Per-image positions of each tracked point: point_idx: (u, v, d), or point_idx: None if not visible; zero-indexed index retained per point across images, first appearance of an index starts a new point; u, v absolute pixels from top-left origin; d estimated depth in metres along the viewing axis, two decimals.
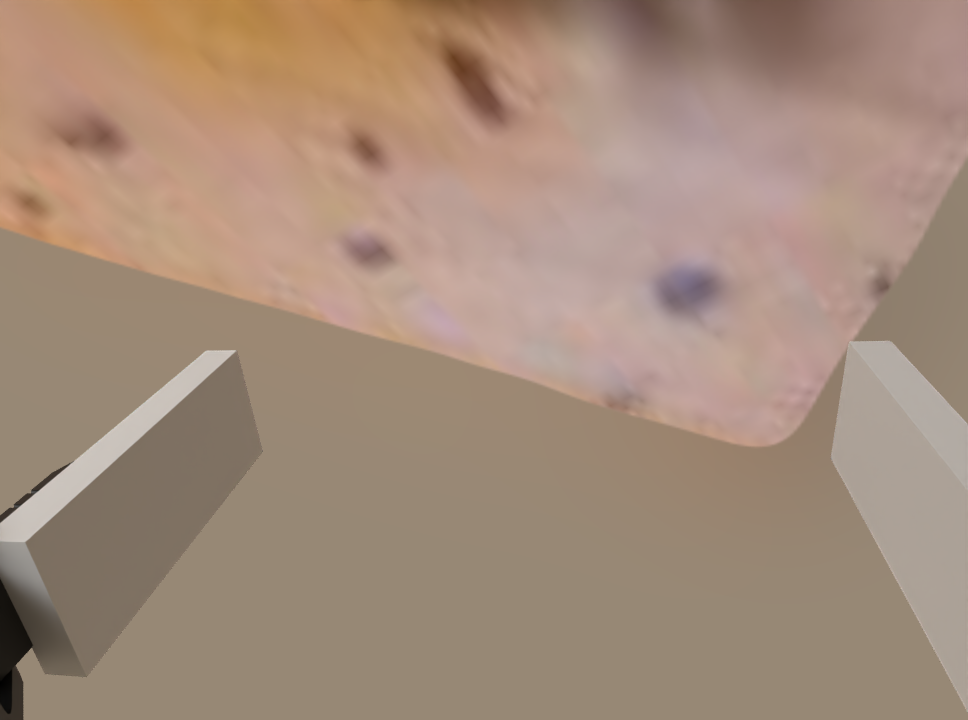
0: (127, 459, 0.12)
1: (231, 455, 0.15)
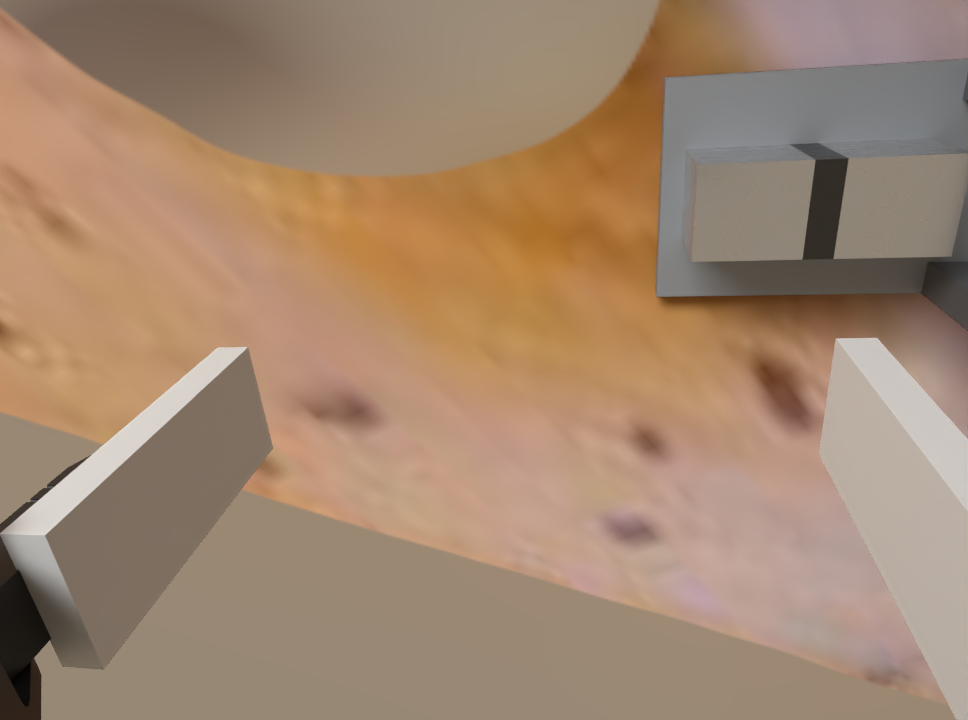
0: (142, 454, 0.12)
1: (242, 451, 0.15)
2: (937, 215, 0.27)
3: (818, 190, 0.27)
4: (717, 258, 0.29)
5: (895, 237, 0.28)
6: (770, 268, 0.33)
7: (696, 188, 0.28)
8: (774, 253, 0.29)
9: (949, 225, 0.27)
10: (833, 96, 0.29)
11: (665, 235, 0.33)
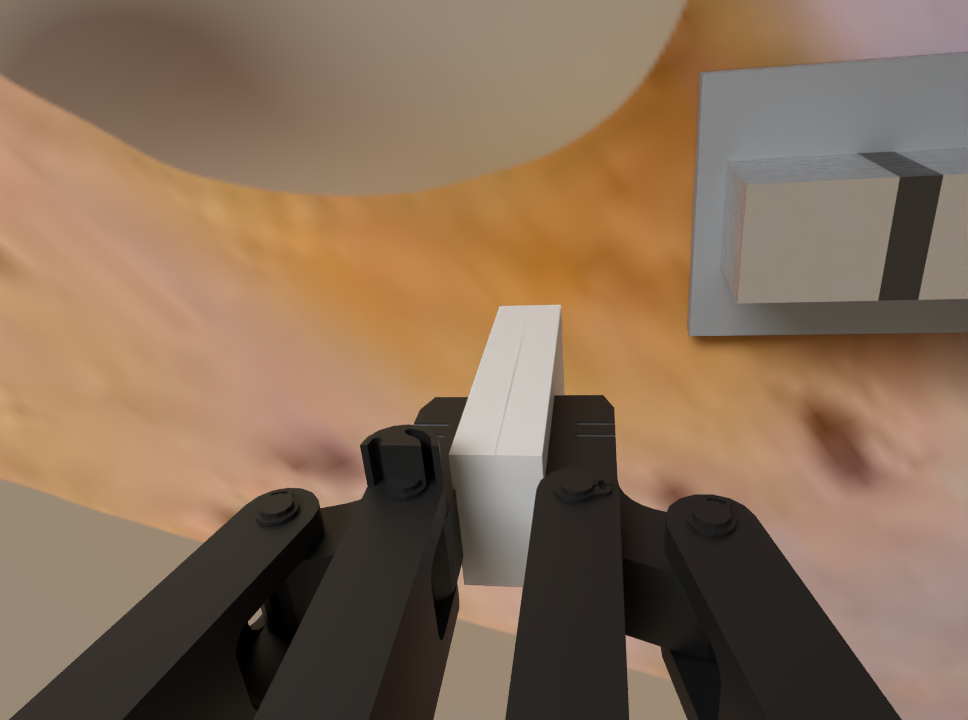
0: None
1: None
2: None
3: (902, 215, 0.21)
4: (770, 299, 0.23)
5: None
6: (828, 302, 0.27)
7: (744, 214, 0.22)
8: (842, 293, 0.23)
9: None
10: (914, 93, 0.23)
11: (700, 265, 0.27)
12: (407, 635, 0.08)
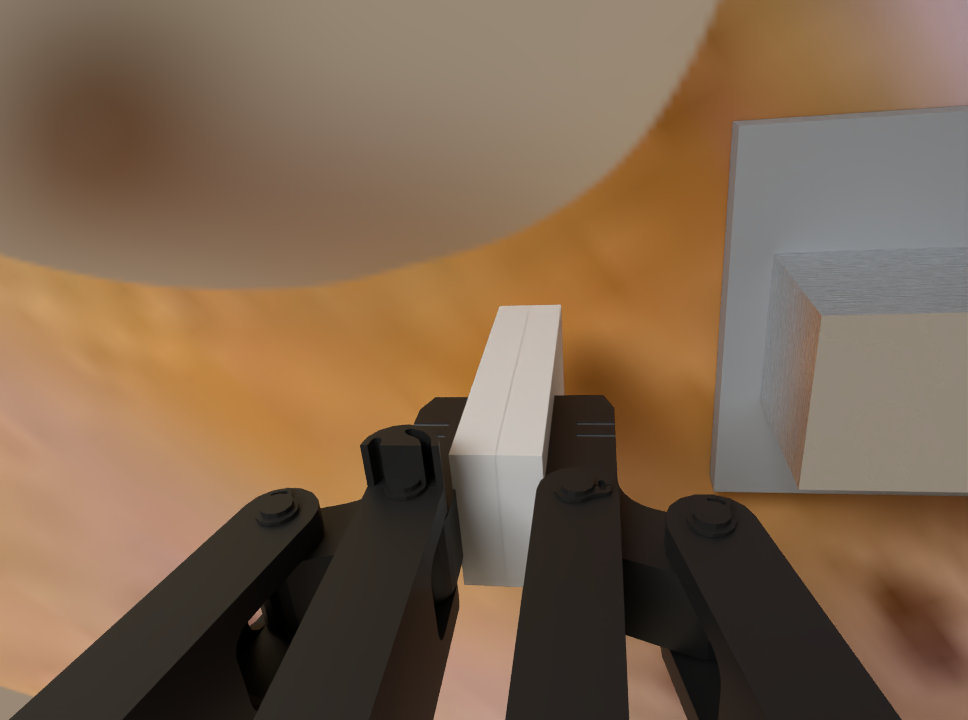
0: None
1: None
2: None
3: None
4: (851, 485, 0.15)
5: None
6: None
7: (816, 359, 0.14)
8: None
9: None
10: None
11: (730, 397, 0.18)
12: (407, 635, 0.08)
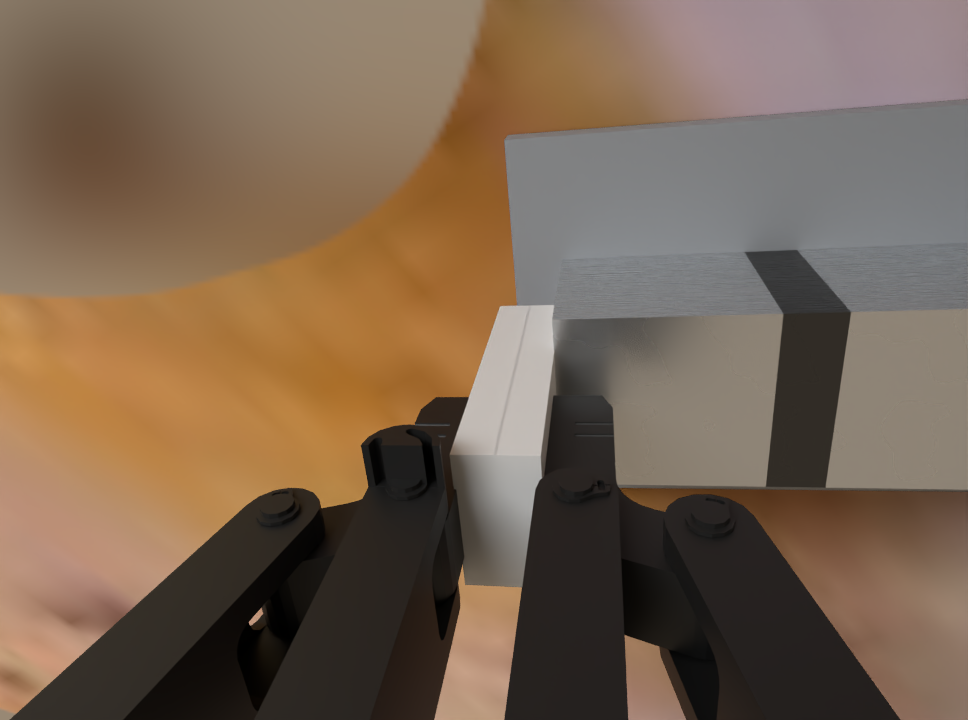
0: None
1: None
2: None
3: (792, 369, 0.14)
4: None
5: (947, 454, 0.14)
6: None
7: (555, 360, 0.14)
8: (712, 474, 0.15)
9: None
10: (811, 167, 0.16)
11: None
12: (408, 635, 0.08)
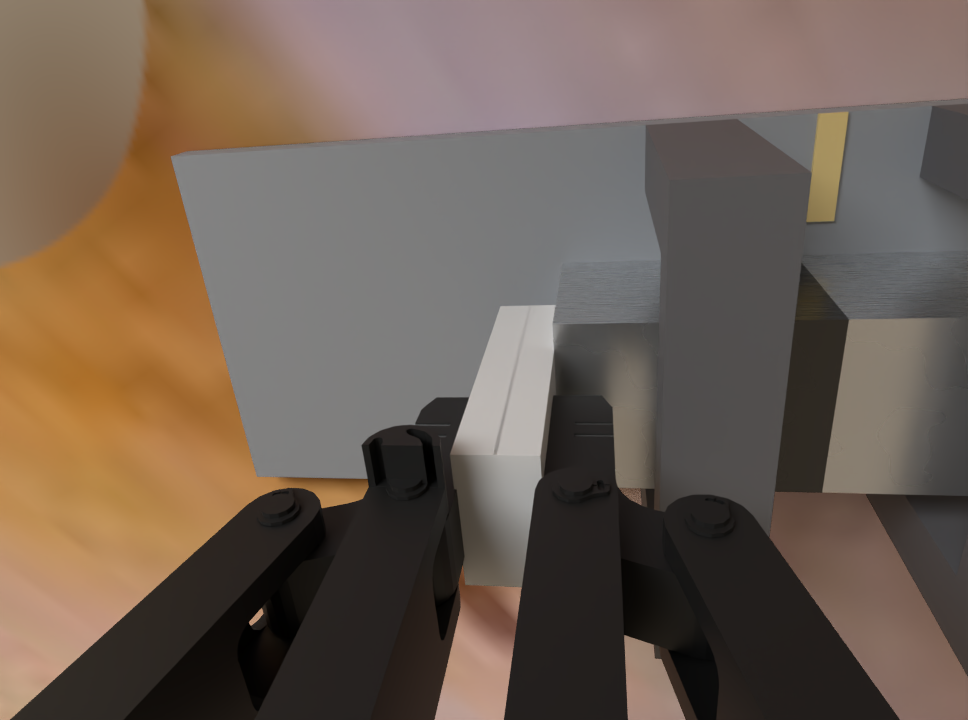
0: None
1: None
2: None
3: (790, 375, 0.14)
4: None
5: (943, 461, 0.14)
6: None
7: (555, 365, 0.14)
8: None
9: None
10: (436, 185, 0.17)
11: (242, 392, 0.21)
12: (408, 635, 0.08)
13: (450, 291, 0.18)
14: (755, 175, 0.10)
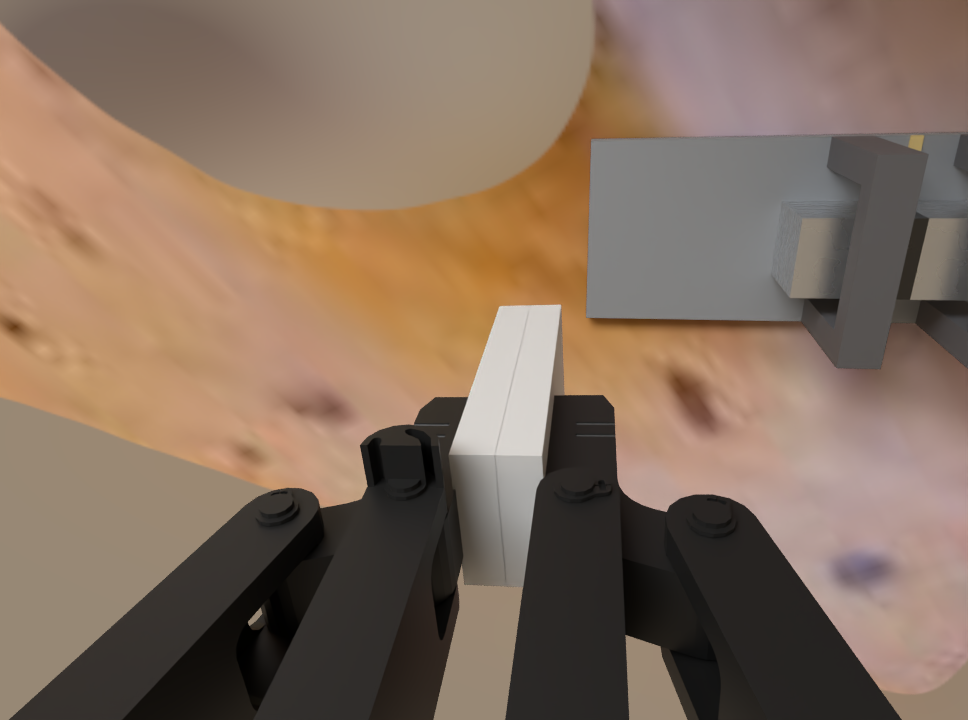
0: None
1: None
2: None
3: None
4: (812, 295, 0.34)
5: (963, 283, 0.33)
6: (678, 297, 0.39)
7: (799, 237, 0.33)
8: None
9: None
10: (725, 160, 0.36)
11: (592, 267, 0.39)
12: (407, 635, 0.08)
13: (720, 214, 0.37)
14: (908, 154, 0.29)
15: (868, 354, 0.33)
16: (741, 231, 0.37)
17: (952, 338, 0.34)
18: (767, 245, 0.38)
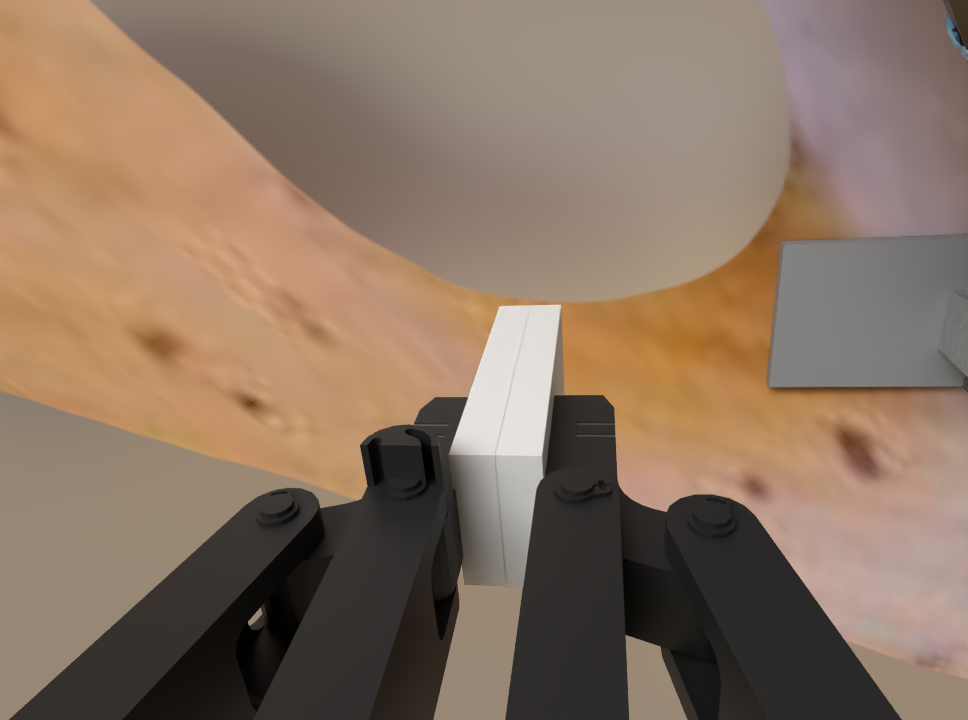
0: None
1: None
2: None
3: None
4: None
5: None
6: (853, 368, 0.46)
7: None
8: None
9: None
10: (902, 258, 0.42)
11: (777, 346, 0.46)
12: (407, 635, 0.08)
13: (895, 300, 0.44)
14: None
15: None
16: (913, 314, 0.44)
17: None
18: (935, 325, 0.44)
